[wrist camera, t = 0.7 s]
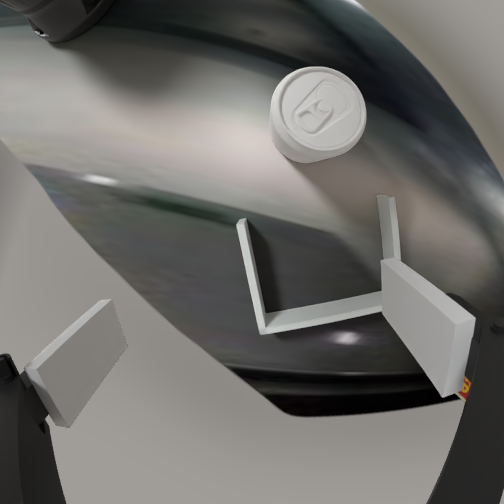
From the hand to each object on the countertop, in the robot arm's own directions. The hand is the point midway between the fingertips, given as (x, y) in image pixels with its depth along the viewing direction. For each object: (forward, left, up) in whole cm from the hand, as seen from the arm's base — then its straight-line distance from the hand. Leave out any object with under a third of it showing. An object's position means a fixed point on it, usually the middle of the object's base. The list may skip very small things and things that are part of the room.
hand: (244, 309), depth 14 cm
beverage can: (-10, +8, -23) cm, 27 cm away
